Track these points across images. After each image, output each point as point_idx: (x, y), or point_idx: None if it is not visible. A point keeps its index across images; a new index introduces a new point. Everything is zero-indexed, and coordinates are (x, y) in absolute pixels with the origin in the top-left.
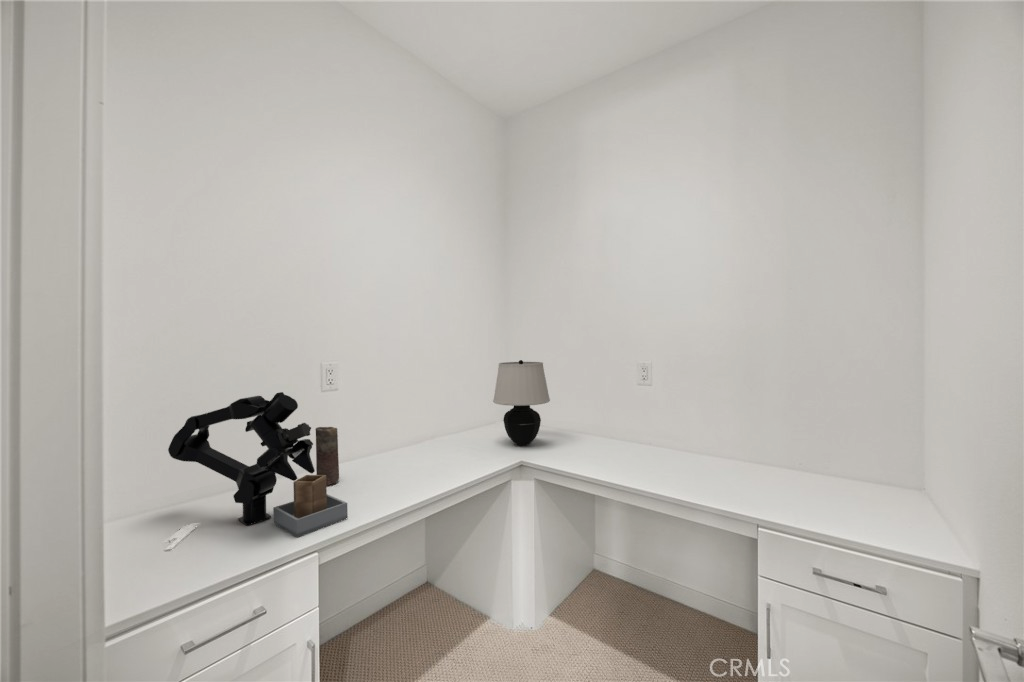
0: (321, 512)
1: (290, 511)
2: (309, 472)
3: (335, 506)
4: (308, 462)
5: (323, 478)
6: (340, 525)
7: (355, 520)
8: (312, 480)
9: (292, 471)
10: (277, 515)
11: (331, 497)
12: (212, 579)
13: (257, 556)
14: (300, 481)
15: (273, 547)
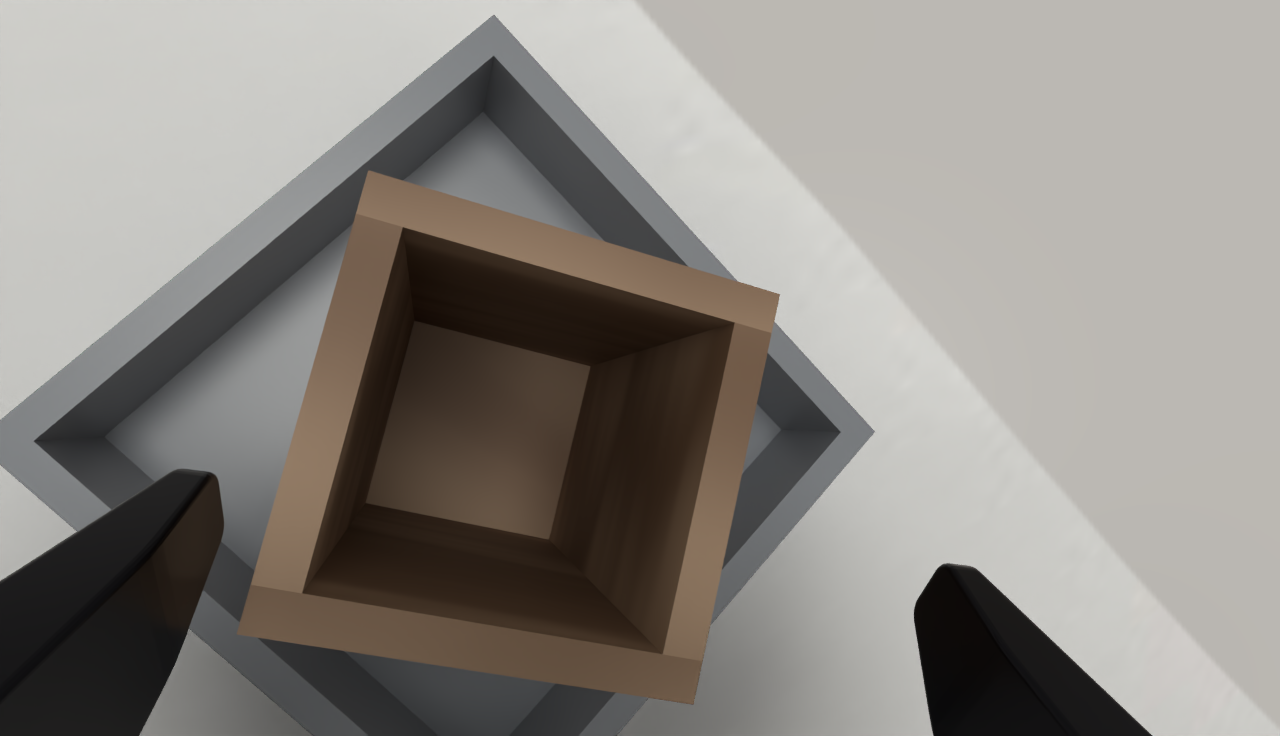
0: (706, 249)
1: (376, 697)
2: (199, 589)
3: (586, 129)
4: (16, 725)
5: (474, 211)
6: (619, 131)
7: (534, 14)
8: (346, 465)
9: (1105, 698)
10: None
11: (255, 246)
12: (1223, 717)
13: (1021, 594)
14: (692, 571)
15: (918, 545)
